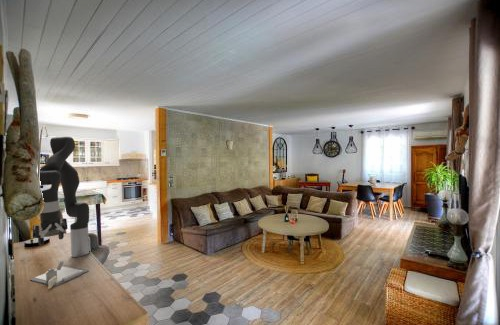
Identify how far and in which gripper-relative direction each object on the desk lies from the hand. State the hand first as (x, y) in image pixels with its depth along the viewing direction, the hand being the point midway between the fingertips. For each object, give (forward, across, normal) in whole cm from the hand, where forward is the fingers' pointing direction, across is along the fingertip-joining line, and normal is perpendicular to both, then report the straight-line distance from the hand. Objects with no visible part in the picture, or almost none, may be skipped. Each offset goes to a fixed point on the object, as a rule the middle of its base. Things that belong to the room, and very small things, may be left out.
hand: (51, 242), depth 120 cm
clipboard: (+19, -3, 0) cm, 19 cm away
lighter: (+18, +1, +3) cm, 18 cm away
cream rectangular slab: (+19, +5, +8) cm, 21 cm away
